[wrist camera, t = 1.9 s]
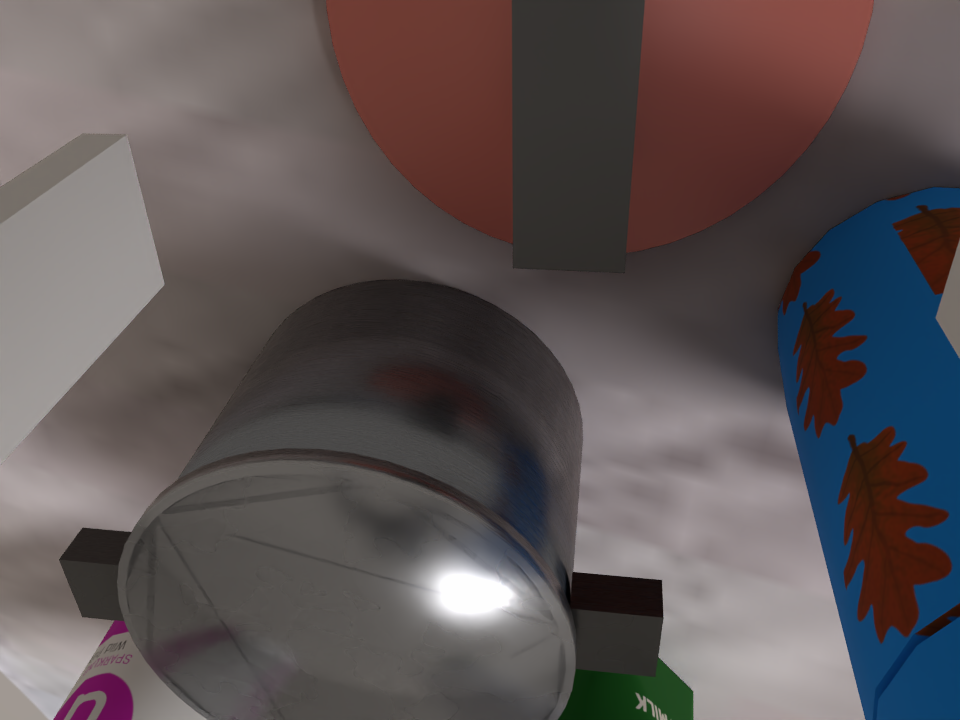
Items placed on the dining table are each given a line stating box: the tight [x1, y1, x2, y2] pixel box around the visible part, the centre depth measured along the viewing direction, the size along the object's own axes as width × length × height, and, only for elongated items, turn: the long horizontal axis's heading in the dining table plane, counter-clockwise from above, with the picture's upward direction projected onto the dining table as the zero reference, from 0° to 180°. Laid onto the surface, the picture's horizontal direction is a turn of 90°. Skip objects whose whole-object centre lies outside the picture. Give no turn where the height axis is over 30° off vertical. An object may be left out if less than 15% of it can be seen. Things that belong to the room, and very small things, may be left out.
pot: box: [59, 280, 663, 720], centre depth 34 cm, size 21×16×12 cm
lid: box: [326, 0, 874, 273], centre depth 25 cm, size 17×17×10 cm
